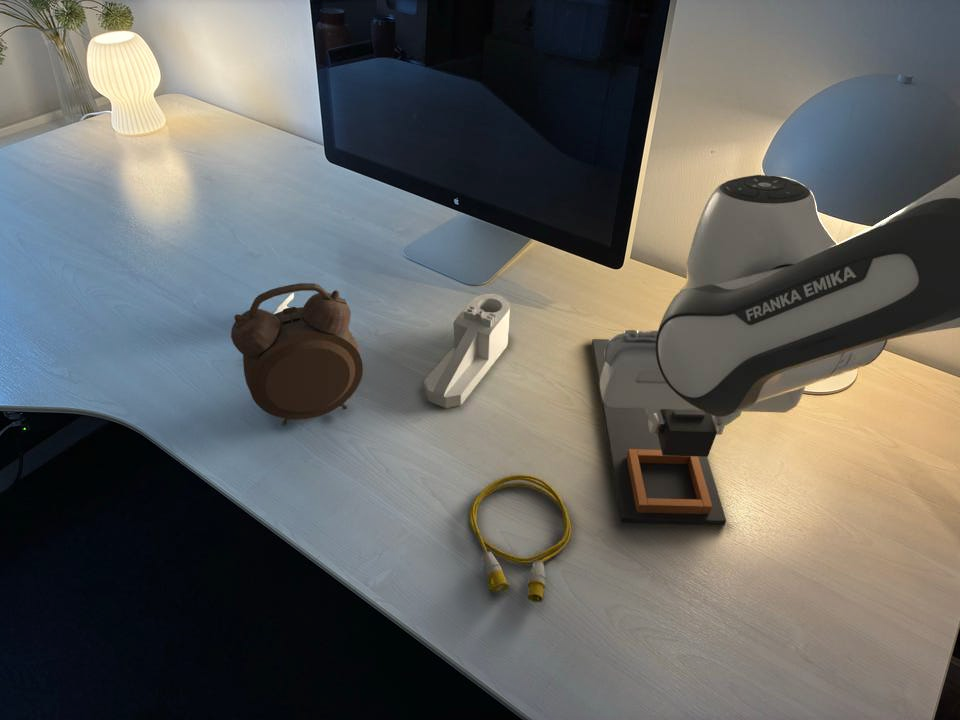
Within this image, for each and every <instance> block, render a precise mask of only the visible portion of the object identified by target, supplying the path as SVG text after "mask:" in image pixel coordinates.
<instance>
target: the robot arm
mask: <svg viewBox="0 0 960 720" xmlns="http://www.w3.org/2000/svg"><path fill="white" fill-rule="evenodd" d="M817 208H818V207H817V203H816V199H815V196H814V194H813V192H812V191H811V190H810V189H809V187H808V186H806V185H805V184H803V183H801V182H799V181H798V180H796V179H792V178H789V177H786V176H779V175H775V174H773V175H767V174H755V175H754V174H753V175H746V176H742V177H737V178H734V179H730V180H726V181H725V182H723V183H721V184H719V185H718V186H717V187H716V189H715V190H714V191H713V192H712V194H711V195H710V197H709V198H708V199H707V202H706V204H705V205H704V207H703V210H702V212H701V215H700V217H699V220H698V222H697V225H696V227H695V231H694V234H693V236H692V241H691V246H690V248H689V252H688V255H687V260H686V279H685V282H684V284H683V286H682V287H681V288H680V290H679V292H678V293H676V294H675V295H674V297H673V298H672V299H671V301H670V302H669V304H668V307H666V310H665V311H664V314H663V316H662V319H661V320H660V323H659V327H658V330H637V329H627V330H623V332H622V333H619V334H616V335H614V336H612V337H610V338H609V340H608V342H607V344H606V349H605V354H604V358H605V364H604V367H603V370H602V373H601V377H600V391H601V396H602V400H603V401H604V402H605V404H606V405H607V406H608V407H610V408H634V409H646V413H647V415H648V417H649V420H648V426H649V431H650V433H664V429H665V426H666V421H665V419H664V413H663V412H660V410H661V409H669V410H702V411H704V412H707V413H709V414H711V415H712V418H713V421H714V424H715V427H716V431H717V434H716V436H717V435H718V436H719V435H720V436H722V434H723V432H724V430H725V427H726V426H727V425H729V424H730V423H732V422H733V421H735V420H737V419H738V418H739V417H741V414H742V412H743V413H744V412H748V413H777V414H778V413H781V414H783V413H787V412H789V411H791V410H793V409H794V408H795V409H796V407H797V406H798V405H799V403H800V401H801V399H802V397H803V394H804V392H805V389H806V387H808V386H811V385H814V384H817V383H820V382H823V381H826V380H829V379H831V378H836V377H839V376H841V375H844V374H846V373H849V372H852V371H854V370H857V369H860V368H862V367H863V368H864V367H865V366H868V365H870V364H871V363H873V362H874V361H875V360H876V359H878V358H879V356H880V355H881V354H882V352H883V351H884V349H885V348H886V345H887V342H888V340H889V341H890V340H893V339H898V338H901V337H907V336H913V335H918V334H925V333H930V332H936V331H937V332H938V331H943V330H950V329H957V328H958V329H959V328H960V174H958V175H956V176H955V177H953V178H951V179H950V180H948V181H946V182H945V183H943V184H941V185H940V186H937V187H936V188H935V189H933V190H931V191H930V192H928V193H926V194H925V195H922V196H921V197H920V198H918V199H916V200H915V201H913V202H911V203H910V204H908V205H907V206H905V207H904V208H902V209H900V210H899V211H897V212H895V213H894V214H892V215H889V217H887V218H885V219H883V220H881V221H880V222H878V223H876V224H875V225H873V226H871V227H869V228H867V229H864V230H863V231H861V232H859V233H857V234H855V235H853V236H851V237H848V238H847V239H844V240H842V241H840V242H838V243H837V241H835V240H834V238H833V237H832V236H831V234H830V233H829V232H828V230H827V228H825V225H824V224H823V223H822V221H821V218H820V216H819V212H818V209H817ZM600 391H599V392H600Z"/></svg>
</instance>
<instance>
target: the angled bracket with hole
mask: <svg viewBox="0 0 960 720" xmlns="http://www.w3.org/2000/svg"><path fill="white" fill-rule="evenodd" d="M510 313H511V303H510V302H509V300H508V299H507V298H506V297H504V296H502V295H500V294H495V293H483V294H480V295H477V296H476V297H474V298H473V299H472V300H471V301H470V303H468V304H467V305H466V307H464V308H463V310H462V311H461V312H460V313H459V314H458V315H457V316H456V317H455V320H454V321H453V346H452V348H451V349H450V350H449V352H448V353H447V354H446V355H445V356H444V357H443V358H442V360H440V361H439V363H438V364H437V365H436V366H435V368H434V369H433V370H432V371H431V372H430V373H429V375H428V376H427V377H426V378H425V379H424V392H425V395H426V397H427V398H426V399H427V400H428V402H430V403H432V404H434V405H437V406H440V407H442V408H444V409H448V408H449V409H450V408H454V407H459V406H462V405H463V403H464V402H465V401H466V399H467V398H468V397H469V396H470V394H471V393H472V391H473V390H474V389H475V388H476V387H477V385H478V384H479V383H480V382H481V380H482V379H483V378H484V376H485V375H486V374H487V373H488V372H489V370H490V369H491V367H492V366H493V365H494V364H495V362H496V361H497V360H498V358H499V357H500V356H501V354H502V353H503V352H504V350H506V348H507V346H508V344H509V343H508V342H509V329H510V327H509V325H510V315H511V314H510Z"/></svg>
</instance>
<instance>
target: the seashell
mask: <svg viewBox="0 0 960 720" xmlns="http://www.w3.org/2000/svg"><path fill="white" fill-rule="evenodd" d="M294 298H295V292H291V293H290V295H289V296H288V297H286V299H284V301H283V302H281V304H280V305H279V306H278V308H276V310H275V311H274V312H273V313H272V314H273V315H274V314H276V313H278V312H281V311H283V309H286V308H290V307H288V304H289V303H290V302H291V301H292V300H294Z"/></svg>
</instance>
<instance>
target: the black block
mask: <svg viewBox="0 0 960 720" xmlns="http://www.w3.org/2000/svg"><path fill="white" fill-rule="evenodd" d="M660 412H663V413H664V419H665V421H666V426H665V429H664V433H657V434H658V438H659V442H660V446H661V451H662V455H665V456H701V457H707V458H708V457H709V455H710V452H711V450H712V447H713V444H714V442H715V439H716V436H717V435H716V434H717V431H716V427H715V424H714V421H713V418H712V415H711V414H709V413H707V412H704V411H702V410H669V409H661V410H660Z"/></svg>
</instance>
